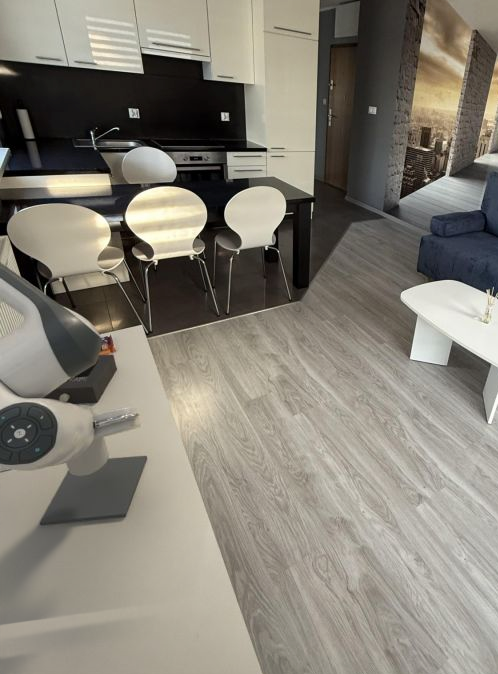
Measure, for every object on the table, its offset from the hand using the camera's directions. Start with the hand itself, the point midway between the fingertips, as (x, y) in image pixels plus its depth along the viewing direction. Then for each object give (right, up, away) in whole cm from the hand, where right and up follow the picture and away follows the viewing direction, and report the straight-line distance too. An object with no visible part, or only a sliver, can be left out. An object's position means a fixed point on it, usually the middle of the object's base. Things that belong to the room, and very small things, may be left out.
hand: (81, 433), depth 71 cm
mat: (-1, -13, +6) cm, 14 cm away
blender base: (-22, +1, +30) cm, 37 cm away
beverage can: (0, -7, +3) cm, 7 cm away
